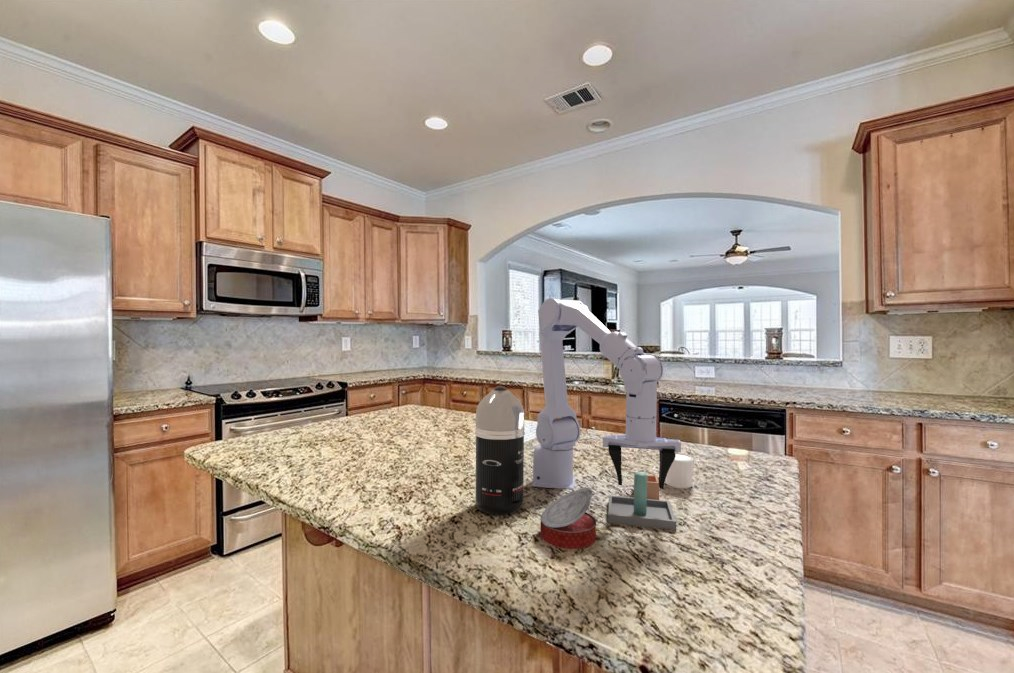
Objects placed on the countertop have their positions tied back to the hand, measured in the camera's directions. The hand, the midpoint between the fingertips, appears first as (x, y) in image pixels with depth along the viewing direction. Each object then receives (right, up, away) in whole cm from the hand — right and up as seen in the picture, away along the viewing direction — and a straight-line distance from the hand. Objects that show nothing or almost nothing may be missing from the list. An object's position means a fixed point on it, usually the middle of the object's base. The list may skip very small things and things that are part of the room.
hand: (640, 485), depth 84 cm
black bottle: (-28, -6, +5) cm, 29 cm away
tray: (0, -6, 0) cm, 6 cm away
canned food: (-15, -7, -8) cm, 18 cm away
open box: (+5, -6, +11) cm, 14 cm away
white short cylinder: (+15, -7, +18) cm, 24 cm away
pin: (0, -5, 0) cm, 5 cm away
